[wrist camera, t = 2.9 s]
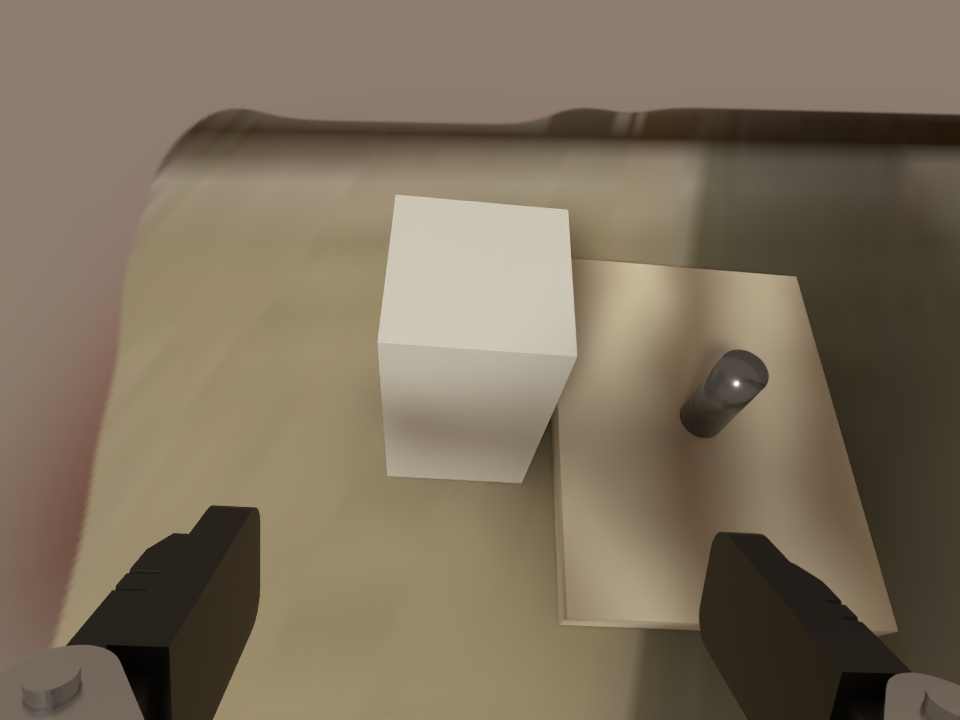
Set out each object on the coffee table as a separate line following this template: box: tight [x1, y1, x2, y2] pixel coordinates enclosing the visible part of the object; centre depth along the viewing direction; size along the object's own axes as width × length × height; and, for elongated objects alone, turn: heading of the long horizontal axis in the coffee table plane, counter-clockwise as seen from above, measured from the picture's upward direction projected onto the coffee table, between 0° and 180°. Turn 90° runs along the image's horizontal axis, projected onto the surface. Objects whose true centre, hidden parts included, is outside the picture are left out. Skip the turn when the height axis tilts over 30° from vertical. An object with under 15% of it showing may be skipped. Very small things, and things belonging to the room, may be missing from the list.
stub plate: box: [551, 258, 898, 636], centre depth 26 cm, size 12×16×6 cm
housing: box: [378, 195, 577, 483], centre depth 23 cm, size 5×5×10 cm
